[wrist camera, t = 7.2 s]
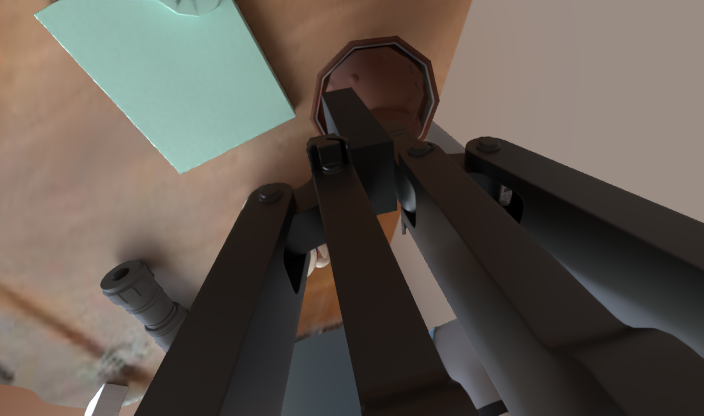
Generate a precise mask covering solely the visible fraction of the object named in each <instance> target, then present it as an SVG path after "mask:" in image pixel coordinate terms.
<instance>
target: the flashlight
mask: <svg viewBox="0 0 704 416" xmlns="http://www.w3.org/2000/svg"><path fill="white" fill-rule="evenodd" d="M100 286H101V288H102V289H103V294H104V295H105V296H106V297H107V298H109V299H110V300H111V301H112V302H113V303H114V304H117V305H120V306H122V307H123V308H124V309H126V311H128V312H129V313H130V314H132V315H134V316H135V317H136V318H137V319H138V320H139V321H141V322H142V323H143V324H144V328H145V331H146V332H148V334H150V335H151V336H152V337H153V338H154V340H155V342H156V343H157V344H158V345H159V346H160V347H161V348H162V349H163V350H164V351H165V352H166V353H167V351H168V350H169V348H170V346H171V344H172V342H173V340H174V338H175V336H176V334H177V332H178V331H179V329H180V327H181V325H182V323H183V321H184V319H185V317H186V315H187V313H188V312H186V311H184V309H183V308H182V307H181V306H180V305H179V304H178V303H177V302H172V301H171V299H170V298H169V297H168V296H167V295H166V294H165V293H164V292H163V289H162V288H161V287H160V285H159V284H158V283H157V282H156V280H155V278H154V274H153V273H152V272H151V271H150V270H149V269H148V268H147V266H146V265H144V264H141V263H139V262H138V261H135V260H132V261H128V262H125V263H122V264H120V265H118V266H117V267H115V268H114V269H112V270H111V271H110V272H109V273H107V274H106V275H105V277H104V278H103V279H102V281H101V284H100Z"/></svg>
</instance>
